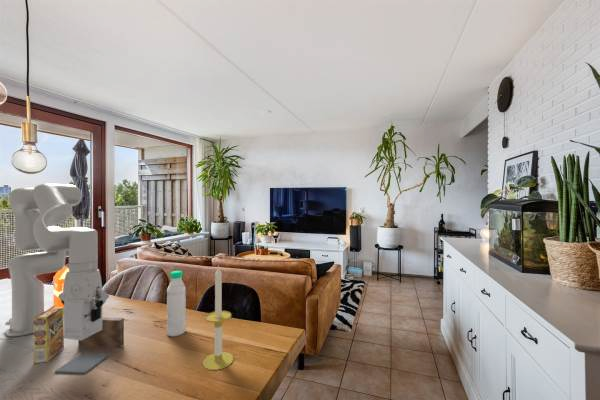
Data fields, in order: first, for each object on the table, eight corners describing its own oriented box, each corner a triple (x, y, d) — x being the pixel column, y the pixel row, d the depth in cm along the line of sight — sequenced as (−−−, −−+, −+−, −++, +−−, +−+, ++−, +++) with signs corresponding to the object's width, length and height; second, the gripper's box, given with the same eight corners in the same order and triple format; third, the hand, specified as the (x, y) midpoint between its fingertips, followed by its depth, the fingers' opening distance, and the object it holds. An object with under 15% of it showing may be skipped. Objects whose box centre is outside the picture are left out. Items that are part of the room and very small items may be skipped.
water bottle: (189, 330, 112) (189, 270, 112) (175, 338, 106) (175, 274, 106) (177, 327, 115) (177, 268, 115) (162, 334, 109) (162, 272, 109)
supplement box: (82, 341, 85) (81, 301, 85) (63, 338, 87) (62, 299, 87) (103, 330, 93) (103, 293, 93) (85, 328, 94) (85, 291, 94)
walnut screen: (78, 346, 100) (78, 319, 100) (83, 343, 102) (83, 316, 102) (119, 347, 99) (119, 320, 99) (123, 344, 101) (123, 318, 101)
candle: (222, 349, 98) (222, 260, 98) (239, 360, 92) (239, 264, 92) (196, 362, 91) (196, 265, 90) (213, 374, 84) (213, 270, 84)
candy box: (48, 362, 91) (47, 316, 91) (32, 363, 90) (32, 317, 90) (64, 348, 99) (64, 306, 99) (50, 349, 98) (50, 307, 98)
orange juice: (72, 300, 145) (72, 263, 145) (77, 304, 140) (77, 265, 140) (52, 305, 139) (52, 266, 139) (57, 309, 134) (57, 269, 134)
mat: (54, 372, 85) (54, 370, 85) (82, 354, 95) (82, 352, 95) (85, 373, 84) (85, 372, 84) (109, 355, 94) (109, 353, 94)
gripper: (47, 269, 86) (47, 324, 86) (99, 269, 85) (99, 325, 85) (68, 263, 94) (69, 314, 94) (117, 264, 93) (117, 315, 93)
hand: (83, 319), depth 90 cm, fingers closed on supplement box, 7 cm apart
